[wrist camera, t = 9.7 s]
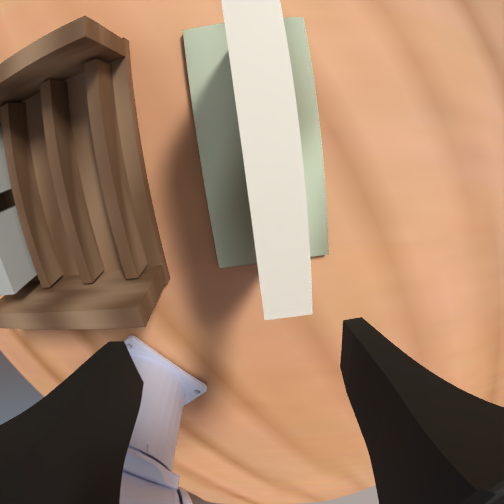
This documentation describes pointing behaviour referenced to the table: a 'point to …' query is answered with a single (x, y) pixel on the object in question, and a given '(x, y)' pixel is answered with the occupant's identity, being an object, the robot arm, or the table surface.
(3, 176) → the offcut
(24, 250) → the offcut
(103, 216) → the rack
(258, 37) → the cream rectangular slab
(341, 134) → the table surface
